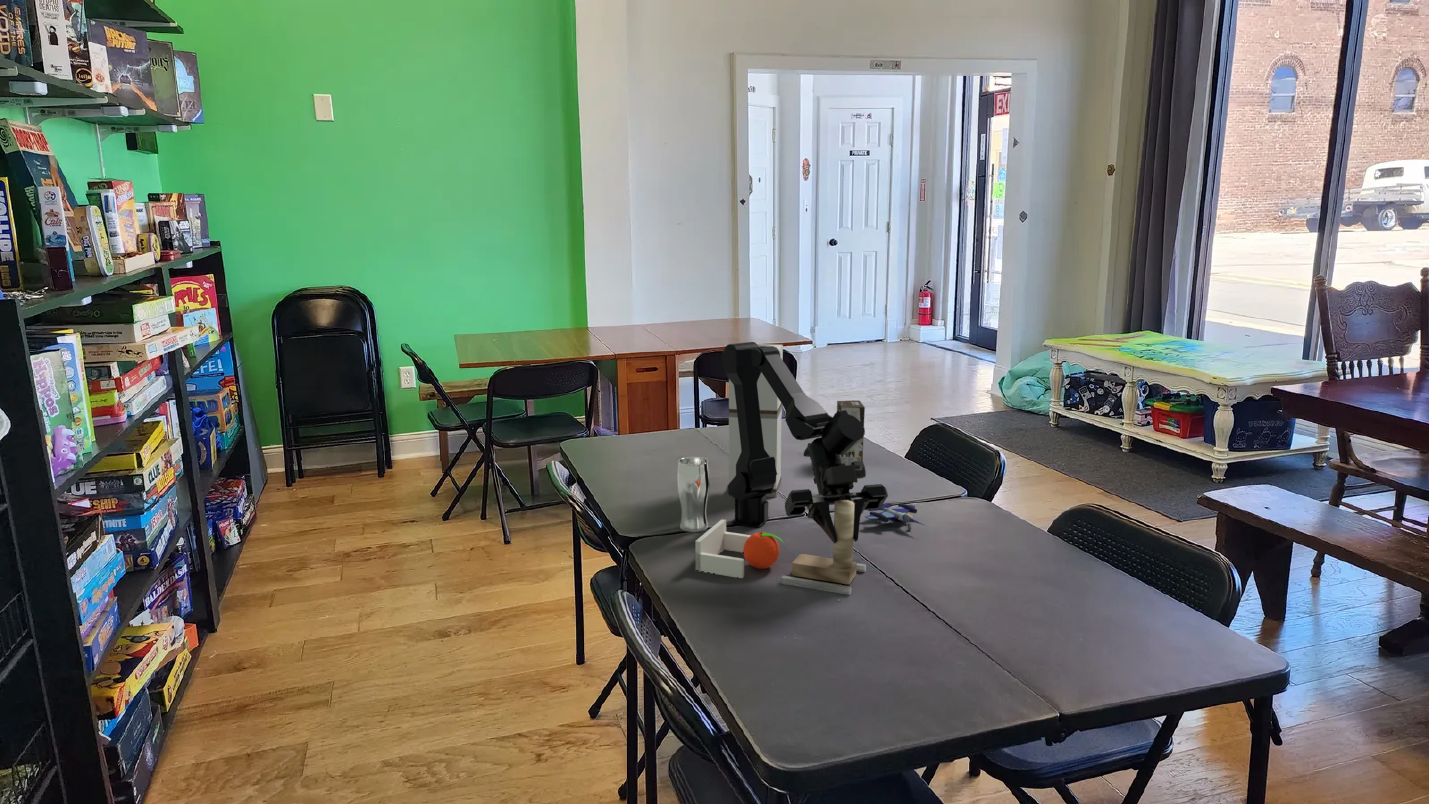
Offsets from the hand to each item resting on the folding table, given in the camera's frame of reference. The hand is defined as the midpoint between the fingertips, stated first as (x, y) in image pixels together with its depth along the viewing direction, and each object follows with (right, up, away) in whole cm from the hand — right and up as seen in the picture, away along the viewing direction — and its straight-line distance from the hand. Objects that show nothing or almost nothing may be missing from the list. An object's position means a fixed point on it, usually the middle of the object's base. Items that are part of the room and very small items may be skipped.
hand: (846, 541), depth 167 cm
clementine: (-14, -7, +9) cm, 18 cm away
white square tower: (-14, +4, +57) cm, 58 cm away
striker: (-4, -7, +4) cm, 9 cm away
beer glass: (-28, -2, +31) cm, 42 cm away
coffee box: (+12, +9, +80) cm, 81 cm away
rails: (-3, -7, +4) cm, 9 cm away
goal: (-20, -6, +11) cm, 24 cm away
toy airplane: (+15, -2, +32) cm, 35 cm away
